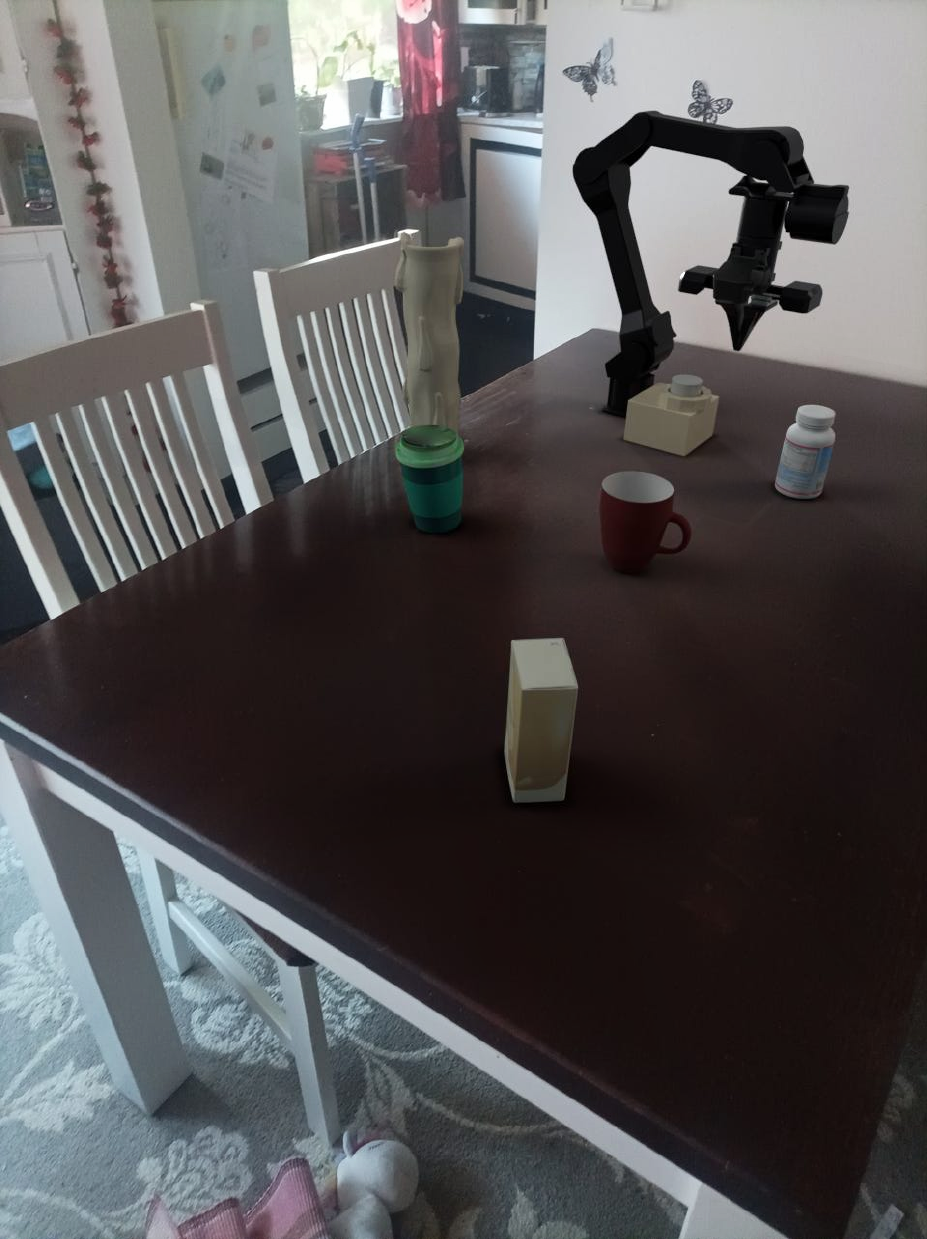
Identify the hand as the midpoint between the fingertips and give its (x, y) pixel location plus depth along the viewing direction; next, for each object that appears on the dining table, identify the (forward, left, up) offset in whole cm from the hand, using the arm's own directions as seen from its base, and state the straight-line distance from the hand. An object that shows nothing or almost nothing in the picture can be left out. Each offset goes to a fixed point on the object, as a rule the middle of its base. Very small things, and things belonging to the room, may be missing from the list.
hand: (737, 350), depth 126 cm
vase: (-30, -33, -13) cm, 47 cm away
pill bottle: (+16, -12, -13) cm, 24 cm away
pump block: (-6, -6, -13) cm, 16 cm away
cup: (-17, -50, -13) cm, 54 cm away
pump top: (-4, -7, -5) cm, 10 cm away
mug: (+8, -43, -13) cm, 46 cm away
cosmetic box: (+17, -79, -13) cm, 82 cm away
